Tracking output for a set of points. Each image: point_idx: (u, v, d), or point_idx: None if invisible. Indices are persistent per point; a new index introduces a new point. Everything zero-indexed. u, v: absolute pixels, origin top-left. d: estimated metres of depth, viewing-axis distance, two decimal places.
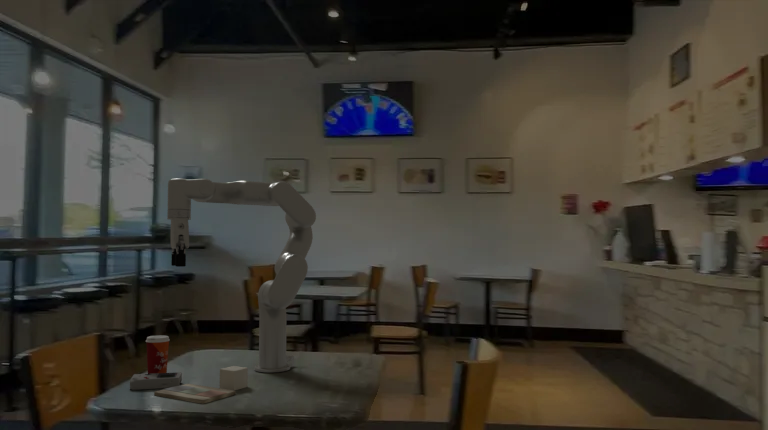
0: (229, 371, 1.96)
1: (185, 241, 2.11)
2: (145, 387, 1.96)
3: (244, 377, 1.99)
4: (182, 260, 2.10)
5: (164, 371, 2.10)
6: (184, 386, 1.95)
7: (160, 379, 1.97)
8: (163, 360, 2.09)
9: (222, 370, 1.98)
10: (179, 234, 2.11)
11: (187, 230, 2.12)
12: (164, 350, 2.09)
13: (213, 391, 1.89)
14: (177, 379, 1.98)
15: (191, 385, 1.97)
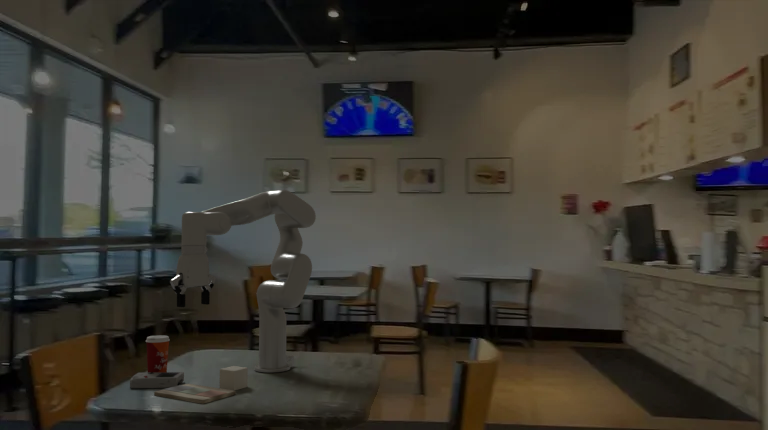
0: (229, 371, 1.96)
1: None
2: (143, 386, 1.97)
3: (244, 377, 1.99)
4: None
5: (164, 371, 2.10)
6: (184, 386, 1.95)
7: (158, 378, 1.98)
8: (163, 360, 2.09)
9: (222, 370, 1.98)
10: None
11: None
12: (164, 350, 2.09)
13: (213, 391, 1.89)
14: (174, 379, 1.98)
15: (191, 385, 1.97)
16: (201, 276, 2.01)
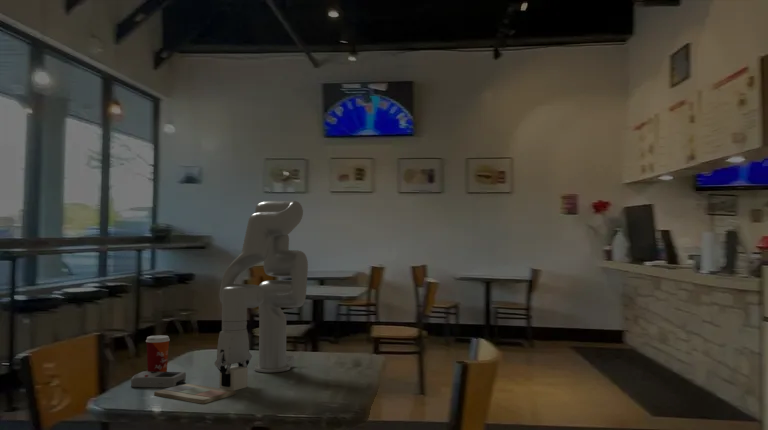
0: (229, 371, 1.96)
1: None
2: (143, 385, 1.99)
3: (244, 377, 1.99)
4: None
5: (164, 371, 2.10)
6: (184, 386, 1.95)
7: (157, 378, 1.98)
8: (163, 360, 2.09)
9: None
10: None
11: None
12: (164, 350, 2.09)
13: (213, 391, 1.89)
14: (172, 379, 1.98)
15: (191, 385, 1.97)
16: (241, 351, 1.99)
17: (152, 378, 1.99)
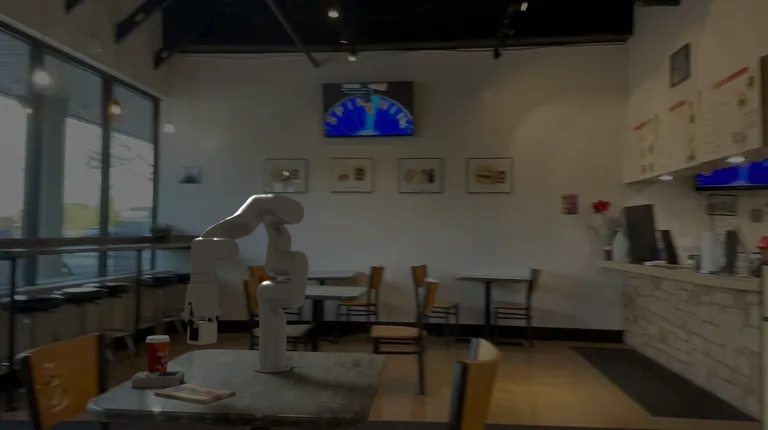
0: None
1: None
2: (145, 385, 1.99)
3: (213, 332, 1.91)
4: None
5: (164, 371, 2.10)
6: (184, 386, 1.95)
7: (160, 377, 1.99)
8: (163, 360, 2.09)
9: None
10: None
11: None
12: (164, 350, 2.09)
13: (213, 391, 1.89)
14: (176, 378, 2.00)
15: (191, 385, 1.97)
16: (211, 305, 1.92)
17: (155, 378, 1.99)
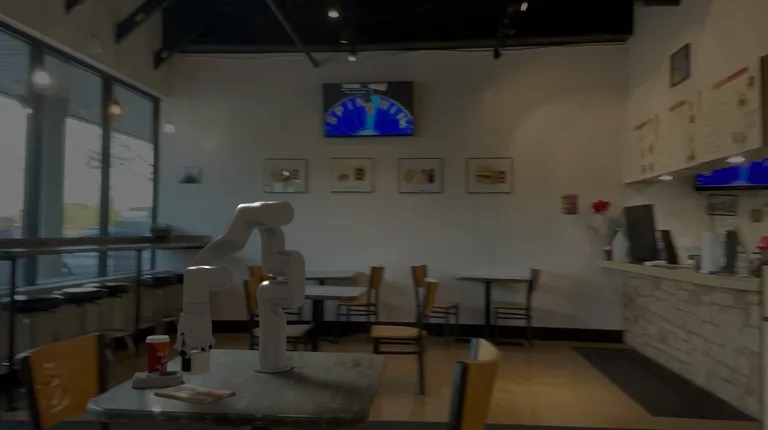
0: (190, 355, 1.86)
1: None
2: (147, 385, 1.99)
3: (206, 362, 1.89)
4: None
5: None
6: (184, 386, 1.95)
7: (162, 377, 2.00)
8: (163, 360, 2.09)
9: None
10: None
11: None
12: (164, 350, 2.09)
13: (213, 391, 1.89)
14: (179, 377, 2.01)
15: (191, 385, 1.97)
16: (203, 335, 1.90)
17: (157, 377, 1.99)
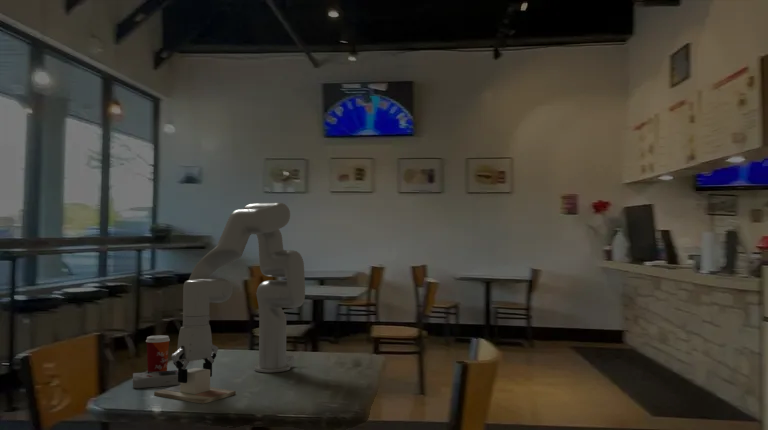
0: (190, 373, 1.86)
1: None
2: (149, 385, 1.99)
3: (206, 379, 1.89)
4: None
5: None
6: None
7: (164, 377, 2.00)
8: (163, 360, 2.09)
9: None
10: None
11: None
12: (164, 350, 2.09)
13: (213, 391, 1.89)
14: None
15: None
16: (204, 348, 1.90)
17: (159, 377, 2.00)
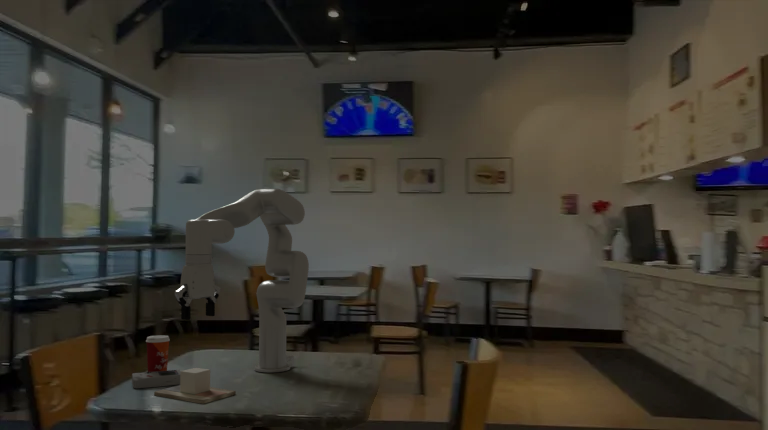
0: (190, 373, 1.86)
1: None
2: (149, 385, 1.99)
3: (206, 379, 1.89)
4: None
5: None
6: None
7: (164, 377, 2.01)
8: (163, 360, 2.09)
9: (183, 372, 1.88)
10: None
11: None
12: (164, 350, 2.09)
13: (213, 391, 1.89)
14: None
15: None
16: (206, 287, 1.92)
17: (159, 377, 2.00)
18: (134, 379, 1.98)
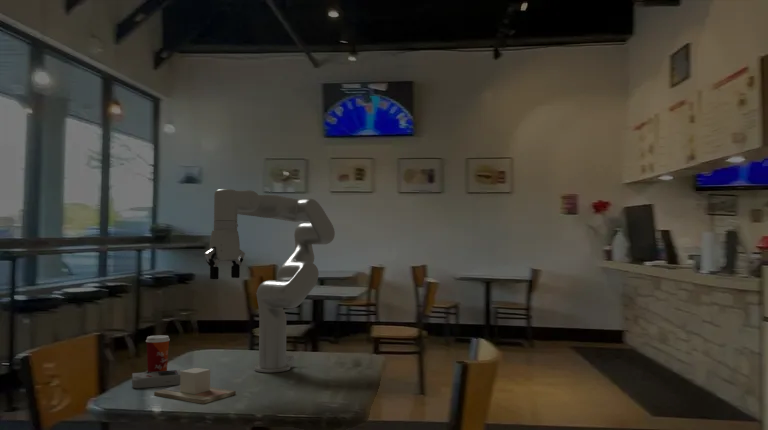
0: (190, 373, 1.86)
1: None
2: (149, 385, 1.99)
3: (206, 379, 1.89)
4: None
5: None
6: None
7: (164, 377, 2.00)
8: (163, 360, 2.09)
9: (183, 372, 1.88)
10: None
11: None
12: (164, 350, 2.09)
13: (213, 391, 1.89)
14: None
15: None
16: (232, 250, 2.11)
17: (159, 377, 2.00)
18: (133, 379, 1.98)
